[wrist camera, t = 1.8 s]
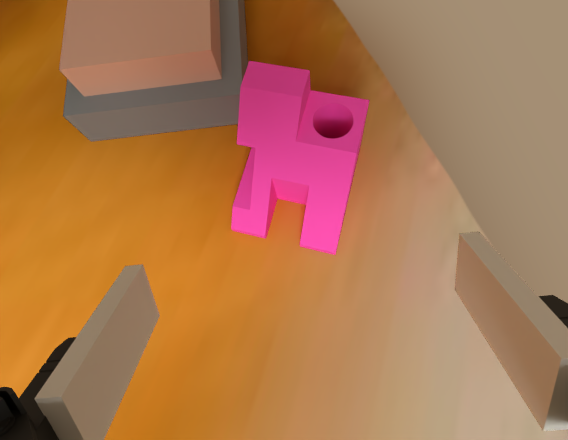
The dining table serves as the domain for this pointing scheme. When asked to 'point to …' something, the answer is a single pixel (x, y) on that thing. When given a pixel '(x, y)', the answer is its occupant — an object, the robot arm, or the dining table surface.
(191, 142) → the dining table surface
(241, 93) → the bracket
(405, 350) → the dining table surface
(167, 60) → the two-tone base plate
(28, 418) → the robot arm
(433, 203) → the dining table surface
